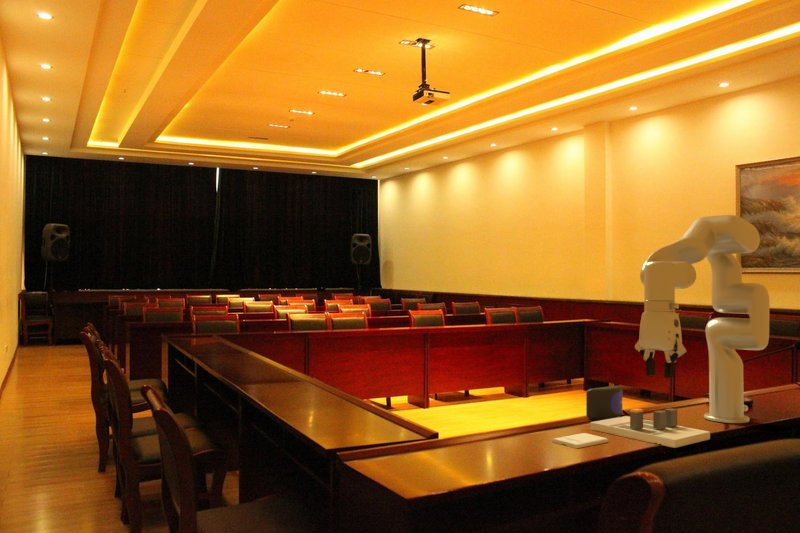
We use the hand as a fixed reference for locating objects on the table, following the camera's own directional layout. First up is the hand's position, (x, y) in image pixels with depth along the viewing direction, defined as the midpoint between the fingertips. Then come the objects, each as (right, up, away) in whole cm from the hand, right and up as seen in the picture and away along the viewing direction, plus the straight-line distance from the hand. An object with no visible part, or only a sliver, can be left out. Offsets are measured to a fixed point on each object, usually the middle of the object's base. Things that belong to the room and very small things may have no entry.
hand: (659, 375), depth 172 cm
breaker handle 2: (+7, -15, +9) cm, 19 cm away
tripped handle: (-4, -15, +5) cm, 17 cm away
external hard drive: (-22, -18, -2) cm, 28 cm away
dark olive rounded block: (-4, -19, +32) cm, 38 cm away
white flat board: (0, -18, +8) cm, 20 cm away
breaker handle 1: (+2, -15, +6) cm, 16 cm away
